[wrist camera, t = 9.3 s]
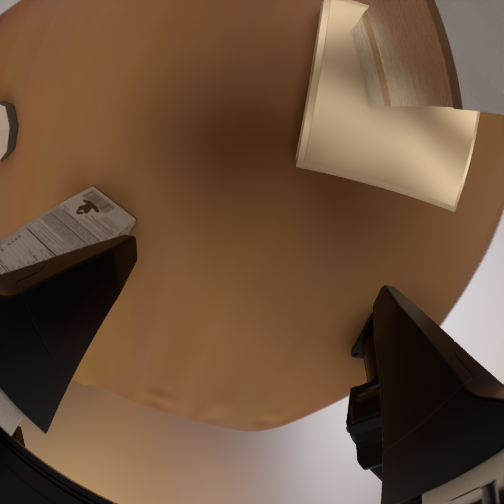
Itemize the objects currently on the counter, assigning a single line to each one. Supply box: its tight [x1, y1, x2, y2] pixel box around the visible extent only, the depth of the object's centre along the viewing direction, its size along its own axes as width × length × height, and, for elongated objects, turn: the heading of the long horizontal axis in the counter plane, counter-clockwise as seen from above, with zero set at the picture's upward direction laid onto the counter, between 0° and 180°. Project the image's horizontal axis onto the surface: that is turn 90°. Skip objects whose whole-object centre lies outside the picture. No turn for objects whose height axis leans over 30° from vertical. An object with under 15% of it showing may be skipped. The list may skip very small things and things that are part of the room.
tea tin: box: [351, 0, 504, 115], centre depth 7 cm, size 5×5×10 cm
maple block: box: [296, 0, 480, 212], centre depth 14 cm, size 12×12×4 cm
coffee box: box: [0, 187, 136, 274], centre depth 18 cm, size 9×6×16 cm
